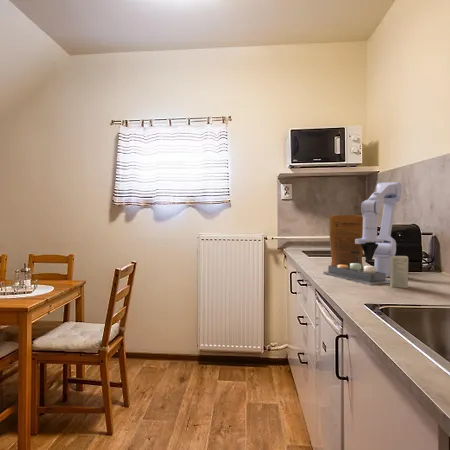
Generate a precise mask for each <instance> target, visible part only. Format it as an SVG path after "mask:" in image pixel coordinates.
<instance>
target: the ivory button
mask: <svg viewBox="0 0 450 450" xmlns="http://www.w3.org/2000/svg"><path fill="white" fill-rule="evenodd" d="M363 269H364V272H365V273H370V274H371V273H376V267H375V266H374V265H364V266H363Z"/></svg>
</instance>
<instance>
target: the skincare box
mask: <svg viewBox="0 0 450 450" xmlns="http://www.w3.org/2000/svg"><path fill="white" fill-rule="evenodd" d="M389 280H390V283H389V286H390V287H391V288H402V289H408V288H409V257H408V256H407V255H394V256H391V263H390V277H389Z"/></svg>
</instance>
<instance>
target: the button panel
mask: <svg viewBox="0 0 450 450" xmlns="http://www.w3.org/2000/svg"><path fill="white" fill-rule="evenodd" d="M327 267H328V270H327V271H323V275H326V276H331V277H335V278H338V279H339V278H340V279H342V280H348V281H352V282H356V283H359V284H364V285H368V286H376V285H383V284H385V285H386V284H390V279H386V278H387V277H386V273H382V272H377V271H376V273H371V274H370V273H365V272H364V268H363V267H362V268H361V270H357V271H355V270H350V266H348V267H347V268H341V267H337V265H328V266H327Z"/></svg>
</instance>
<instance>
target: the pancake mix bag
mask: <svg viewBox="0 0 450 450" xmlns="http://www.w3.org/2000/svg"><path fill="white" fill-rule="evenodd" d="M328 233H329V234H328V235H329V242H330V243H329V246H330V257H331V263H330V266H332V265H348V266H350V263H359V264H361V268H362V269H363V268H364V266H363V253H364V251H363V249H362V247H361V244H355V239H361V238H362V235H363V217H362V214H331V216H329V217H328Z"/></svg>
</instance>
